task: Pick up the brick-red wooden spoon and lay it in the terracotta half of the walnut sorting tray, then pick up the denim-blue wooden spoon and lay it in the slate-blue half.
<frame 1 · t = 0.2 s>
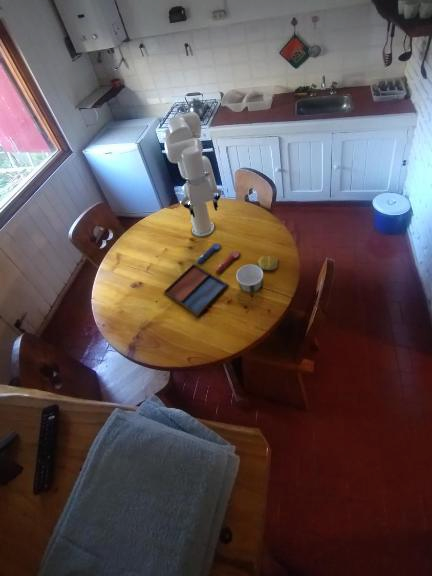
hand: (204, 212, 145), 37 cm above the table, tool pointing down, fingers open, 9 cm apart
blue spoon: (206, 257, 176), on the table
food container: (251, 284, 158), on the table
sorting tray: (196, 290, 160), on the table
bread roll: (268, 264, 165), on the table
red spoon: (225, 265, 169), on the table
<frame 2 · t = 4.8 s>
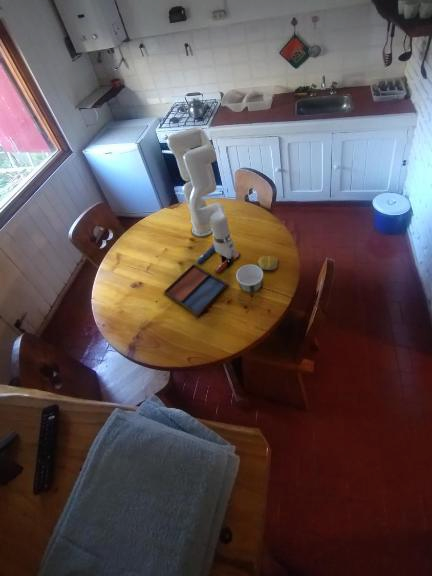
hand: (227, 263, 170), 0 cm above the table, tool pointing down, fingers closed on red spoon, 2 cm apart
red spoon: (225, 265, 169), on the table, touching gripper
everything else where it was.
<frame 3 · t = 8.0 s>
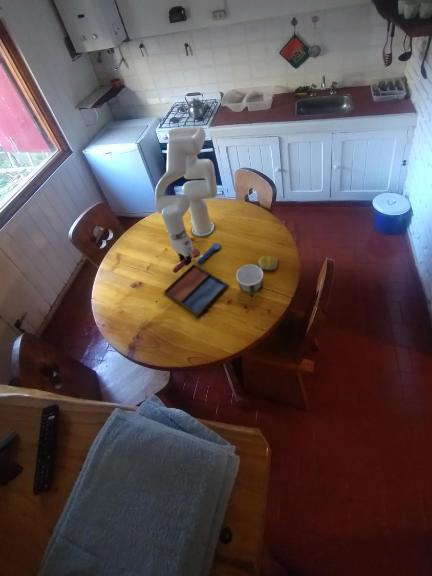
hand: (186, 261, 155), 15 cm above the table, tool pointing down, fingers closed on red spoon, 2 cm apart
red spoon: (184, 264, 155), point 14 cm above the table, touching gripper
everything else where it was.
when the fingers open (1 cm above the table, at t = 11.2 s): red spoon stays where it is, resting on sorting tray.
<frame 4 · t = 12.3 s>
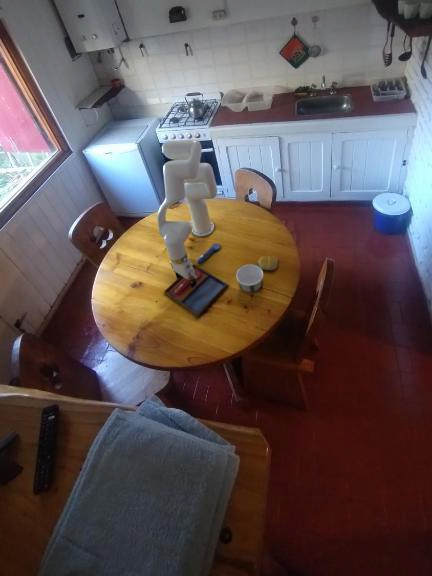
hand: (186, 281, 162), 3 cm above the table, tool pointing down, fingers open, 9 cm apart
red spoon: (185, 286, 162), point 1 cm above the table, touching sorting tray
everything else where it was.
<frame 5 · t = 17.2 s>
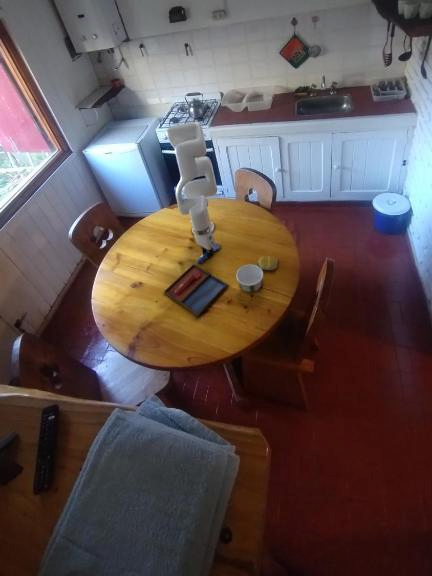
hand: (208, 254, 176), 0 cm above the table, tool pointing down, fingers closed on blue spoon, 2 cm apart
blue spoon: (206, 257, 176), on the table, touching gripper
everything else where it was.
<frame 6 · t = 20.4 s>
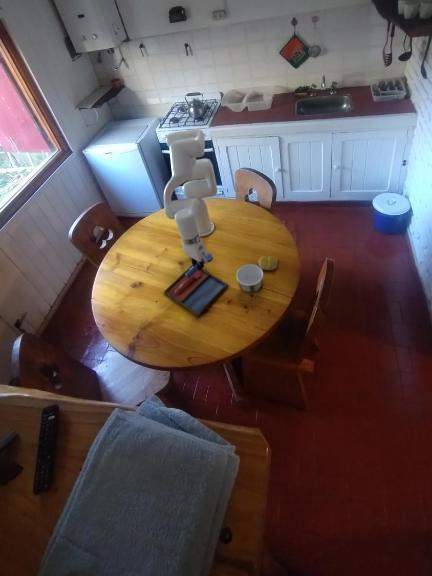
hand: (198, 266, 151), 15 cm above the table, tool pointing down, fingers closed on blue spoon, 2 cm apart
blue spoon: (196, 269, 150), point 15 cm above the table, touching gripper
everything else where it was.
when the fingers open (2 cm above the table, at t = 24.5 s): blue spoon stays where it is, resting on sorting tray.
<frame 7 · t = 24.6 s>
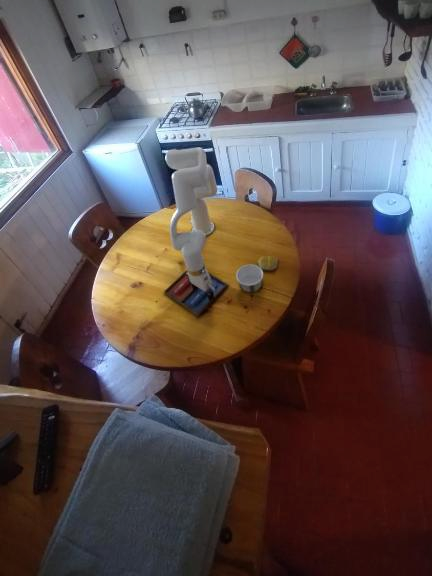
hand: (203, 293, 156), 2 cm above the table, tool pointing down, fingers open, 9 cm apart
blue spoon: (201, 297, 156), point 1 cm above the table, touching sorting tray
everything else where it was.
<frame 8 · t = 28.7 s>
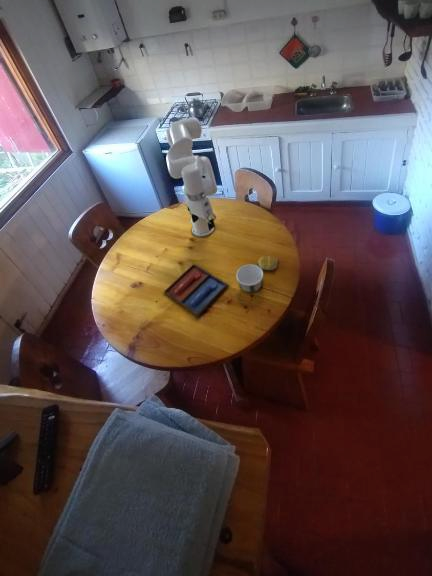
hand: (203, 224, 152), 28 cm above the table, tool pointing down, fingers open, 9 cm apart
nothing on the table moved.
at the end: red spoon inside the target area (0.9 cm from its centre), point 0.6 cm above the table; blue spoon inside the target area (0.8 cm from its centre), point 0.6 cm above the table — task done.
